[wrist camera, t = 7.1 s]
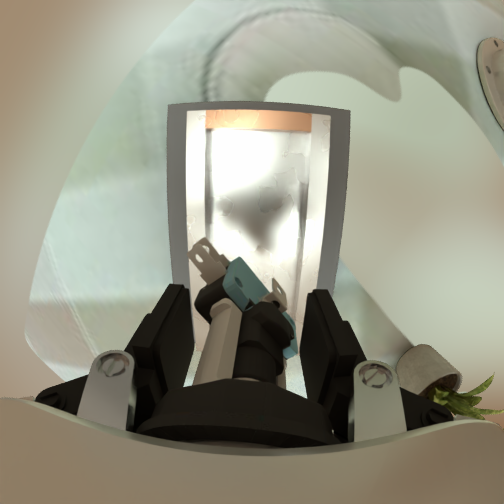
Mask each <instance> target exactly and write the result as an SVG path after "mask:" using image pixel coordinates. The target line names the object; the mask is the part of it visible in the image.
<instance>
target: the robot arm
mask: <svg viewBox="0 0 504 504" xmlns="http://www.w3.org/2000/svg"><path fill="white" fill-rule="evenodd" d="M477 61H478V69H479V74H480V79H481V83H482V86H483V89H484V92H485V95H486V97H487V100H488V103H489V105H490V107H491V109H492V111H493V114H494V115H495V117H496V119H497V121H498V122H499V124H500V125H501V127H502V128H503V130H504V42H503V41H502V40H500V39H497V38H488V39H485V40H483V41H482V42H481V44H480V45H479V48H478V60H477ZM193 352H194V334H193V324H192V314H191V303H190V291H189V288H185V286H184V284H169V285H168V287H167V289H166V290H165V292H164V293H163V295H162V296H161V298H160V300H159V301H158V303H157V305H156V306H155V308H154V309H153V311H152V313H148V314H147V315H146V316H145V317H144V319H143V321H142V322H141V324H140V325H139V327H138V329H137V330H136V332H135V333H134V335H133V337H132V338H131V340H130V342H129V343H128V345H127V347H126V348H125V350H124V351H122V350H110V351H107V352H104V353H102V354H100V355H98V356H97V357H96V358H95V359H94V361H93V363H92V366H91V369H90V372H89V374H88V375H85V376H82V377H79V378H77V379H74V380H71V381H68V382H65V383H62V384H59V385H56V386H53V387H50V388H47V389H45V390H43V391H42V392H41V393H39V394H38V396H37V397H36V399H35V398H34V397H33V396H30V397H24V398H6V397H5V398H0V504H504V430H503V429H502V427H501V426H500V425H499V424H497V423H494V422H491V421H486V420H480V419H475V418H471V417H466V416H462V415H458V414H456V415H455V417H453V416H452V414H451V412H450V411H449V410H448V409H447V408H446V407H444V406H443V405H441V404H438V403H436V402H434V401H431V400H429V399H426V398H424V397H422V396H419V395H417V394H415V393H413V392H410V391H408V390H406V389H404V388H401V387H399V382H398V378H397V375H396V372H395V371H394V369H393V368H392V367H391V366H389V365H388V364H386V363H383V362H381V361H375V360H368V361H367V359H366V357H365V355H364V353H363V350H362V348H361V346H360V344H359V342H358V340H357V338H356V336H355V334H354V332H353V330H352V327H351V325H350V323H349V322H348V321H343V320H342V318H341V316H340V314H339V312H338V310H337V308H336V306H335V303H334V301H333V299H332V297H331V295H330V293H329V291H328V289H313V291H312V293H308V294H307V300H306V308H305V315H304V321H303V328H302V334H301V341H300V347H299V354H300V359H301V365H302V370H303V376H304V381H305V387H306V393H307V399H309V400H311V401H314V402H316V403H319V404H320V405H322V406H323V408H324V410H325V412H326V413H327V415H328V417H329V419H330V421H331V425H332V431H333V436H335V437H336V438H337V439H338V440H339V441H340V442H341V443H342V444H336V445H327V446H317V447H304V448H280V449H254V448H231V447H218V446H207V445H199V444H191V443H184V442H177V441H171V440H165V439H160V438H155V437H150V436H145V435H141V434H137V433H136V431H137V429H138V427H139V426H140V425H141V424H142V423H143V422H145V421H147V420H148V419H150V418H151V417H152V414H153V412H154V409H155V406H156V405H157V403H158V402H159V401H160V400H161V399H162V398H163V397H164V395H165V394H166V393H167V392H168V391H170V390H171V389H176V388H182V387H183V386H184V382H185V379H186V375H187V372H188V368H189V365H190V362H191V358H192V355H193Z"/></svg>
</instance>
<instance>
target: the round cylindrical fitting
mask: <svg viewBox="0 0 504 504" xmlns="http://www.w3.org/2000/svg"><path fill="white" fill-rule="evenodd" d="M203 246H207V247H208V248H209V253H208V252H207V251H206V250H205V248H204V247H203ZM197 254H198V255H199V257H200V258H201V259H202V260H203V262H199V261H197V259H196V255H197ZM187 256H188V258H189V259H190V260H191V261H192V262H193V263H194V265H195V266H196V267H197V268H198V269H199V270H200V272H201V273H202V274H200V277H201V278H202V279H203V280H204V281H205V282H206V283H207V284H206V286H205V287H203V288H202V289H200V291H199V293H198V295H197V297H196V299H195V302H194V307H195V309H196V310H197V312H198V313H199V314H200V315H201V316H202V317H203V318H204V319H205V320H206V321H207V322H208V323H209V324H210V325H211V326H210V329H209V332H208V335H207V338H206V342H205V345H204V348H203V351H202V354H201V358H200V361H199V364H198V367H197V371H196V374H195V377H194V381H193V384H192V386H187V387H182V388H176V389H171V390H170V391H168V392H167V393H166V394H165V395H164V397H163V398H162V399H161V400H160V401H159V402H158V403H157V405H156V406H155V409H154V412H153V414H152V417H151V418H150V419H148V420H147V421H145V422H143V423H142V424H141V425H140V426H139V427H138V429H137V431H136V433H137V434H141V435H145V436H150V437H155V438H160V439H165V440H171V441H177V442H184V443H191V444H199V445H207V446H218V447H231V448H254V449H280V448H304V447H317V446H327V445H336V444H342V443H341V442H340V441H339V440H338V439H337V438H336V437H335V436H333V431H332V425H331V421H330V419H329V417H328V415H327V413H326V412H325V410H324V408H323V406H322V405H320V404H319V403H316V402H314V401H311V400H309V399H306V398H304V397H302V396H299V395H297V394H295V393H293V392H290V391H288V390H286V376H285V369H286V367H287V363H286V360H287V359H289V358H291V357H293V356H295V355H297V354H298V345H297V337H296V325H295V323H294V321H293V319H292V318H291V316H290V315H289V314H287V313H286V310H287V309H288V308H287V298H286V293H285V291H284V290H283V288H282V287H281V286H280V285H279V283H278V282H277V281H276V280H275V279H274V278H272V290H273V291H272V292H271V293H270V292H269V291H268V289H267V288H266V287H265V286H264V284H263V283H262V282H261V281H260V280H259V278H258V277H257V276H256V275H255V273H254V272H253V271H252V270H251V268H250V267H249V266H248V265H247V263H246V262H245V261H244V260H243V259H242V258H241V257H240V256H239V257H237V258H236V259H234V260H233V261H231V262H230V261H229V260H228V259H227V258H226V256H225V255H224V254H223V253H222V254H221V255H220V254H219V253H218V252H217V250H216V249H215V248H214V247H213V246H212V244H211V243H210V242H209V241H208V239H207V238H206V237H203V238H201V239H200V240H199V241H197V242H196V243H195V244H194V245H193V246H192V249H191V250H190V251H188V252H187ZM277 287H278V288H277ZM278 289H279V290H280V292H281V293H280V292H279V290H278Z"/></svg>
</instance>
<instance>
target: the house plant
mask: <svg viewBox="0 0 504 504" xmlns="http://www.w3.org/2000/svg"><path fill="white" fill-rule="evenodd" d="M396 372H397V375H398V379H399V383H400V386H401V388H404V389H406V390H408V391H410V392H413V393H415V394H417V395H419V396H422V397H424V398H426V399H429V400H431V401H434V402H436V403H438V404H441V405H443V406H444V407H446V408H447V409H448V410H449V411H450V412H452V413H453V414H454V415H456V414H458V415H462V416H466V417H471V418H475V419H480V420H485V419H484V417H483V416H481V415H480V414H499V413H503V412H504V410H500V411H498V410H489V409H485V410H484V409H478V408H475V407H473V406H475V405H477V404H478V403H479V402H480V401H481V400H482V398H481V397H476V396H473V395H476V394H479V393H481V392H483V391H484V390H486V389H487V388H488V387H489V385H490V384H491V382H492V379H493V377H494V375H492V376H491V377H490V378H489V379H487V380H486V381H485V382H484V383H482V384H481V385H480V386H478V387H477V388H475V389H474V390H472V391H470V392H468V393H462V394H459V393H457V391H458V389H459V387H460V385H461V383H462V375H461V373H460V372H459V371H458V370H456V369H455V368H454V367H453V366H452V365H451V364H450V363H449V362H448V361H447V360H446V359H444V358H443V357H442V356H441V355H440V354H439V353H438V352H436V350H434V349H433V348H432V347H431V346H429V345H425V344H420V345H417V346H415V347H413V348H411V349H410V350H408V351H407V352H406V353H405V354H404V355H403V356H402V357H401V358H400V360H399V361H398V364H397V366H396ZM502 429H503V428H502ZM503 430H504V429H503Z"/></svg>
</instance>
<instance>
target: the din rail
mask: <svg viewBox="0 0 504 504" xmlns="http://www.w3.org/2000/svg"><path fill="white" fill-rule="evenodd" d="M330 121H331V116H329V115H321V114H312V113H302V112H290V111H273V110H198V111H187V128H186V209H187V237H188V251H190V250H191V249H192V246H193V245H194V244H195V243H196V242H197V241H199V240H200V239H201V238H203V237H206V238H207V239H208V241H209V242H210V243H211V244H212V246H213V247H214V248H215V249H216V250H217V252H218V253H219V254H220V255H221V254H222V253H223V254H224V255H225V256H226V258H227V259H228V260H229V261H230V262H231V261H233V260H234V259H236V258H237V257H239V256H240V257H241V258H242V259H243V260H244V261H245V262H246V263H247V265H248V266H249V267H250V268H251V270H252V271H253V272H254V273H255V275H256V276H257V277H258V278H259V280H260V281H261V282H262V283H263V284H264V286H265V287H266V288H267V289H268V291H269V292H270V293H271V292H272V291H273V290H272V278H274V279H275V280H276V281H277V282H278V283H279V285H280V286H281V287H282V288H283V290H284V291H285V293H286V298H287V308H288V309H287V310H286V313H287V314H289V315H290V316H291V318H292V319H293V321H294V323H295V325H296V337H297V345H298V354H297V355H300V354H299V347H300V341H301V334H302V328H303V321H304V315H305V308H306V300H307V294H308V293H312V291H313V289H316V286H317V279H318V272H319V264H320V256H321V247H322V239H323V229H324V219H325V208H326V196H327V183H328V168H329V149H330ZM203 247H204V248H205V250H206V251H207V252H208V253H209V248H208V247H207V246H203ZM196 259H197V261H199V262H203V260H202V259H201V258H200V257H199V255H198V254H197V255H196ZM189 273H190V287H191V299H192V311H193V321H194V331H195V341H196V349H197V351H201V352H202V351H203V348H204V345H205V342H206V338H207V335H208V332H209V329H210V326H211V325H210V324H209V323H208V322H207V321H206V320H205V319H204V318H203V317H202V316H201V315H200V314H199V313H198V312H197V310H196V309H195V307H194V302H195V299H196V297H197V295H198V293H199V291H200V289H202V288H203V287H205V286H206V284H207V283H206V282H205V281H204V280H203V279H202V278H201V277H200V274H202V273H201V272H200V270H199V269H198V268H197V267H196V266H195V265H194V263H193V262H192V261H191V260H190V259H189ZM277 288H278V287H277ZM278 290H279V289H278ZM279 292H280V290H279ZM280 293H281V292H280Z"/></svg>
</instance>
